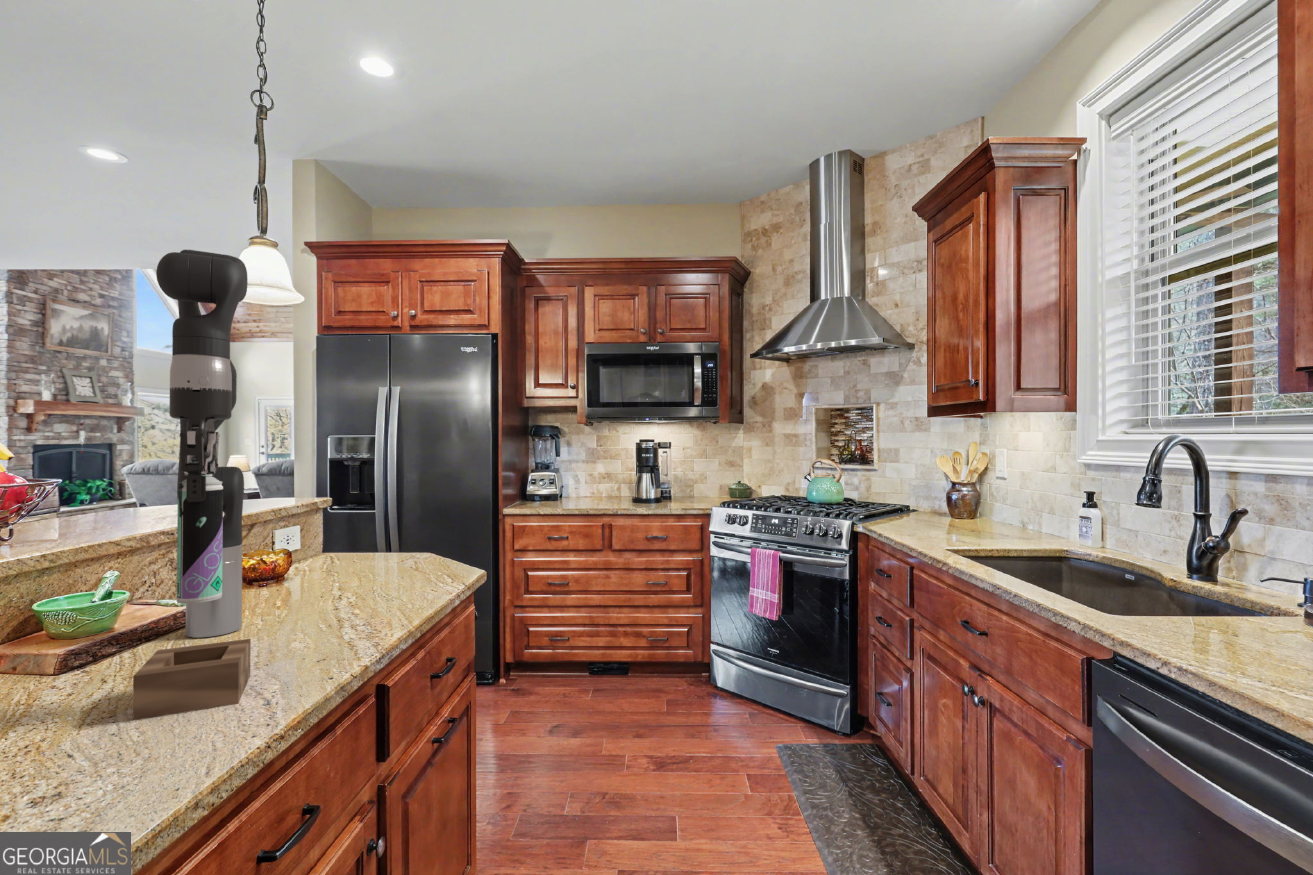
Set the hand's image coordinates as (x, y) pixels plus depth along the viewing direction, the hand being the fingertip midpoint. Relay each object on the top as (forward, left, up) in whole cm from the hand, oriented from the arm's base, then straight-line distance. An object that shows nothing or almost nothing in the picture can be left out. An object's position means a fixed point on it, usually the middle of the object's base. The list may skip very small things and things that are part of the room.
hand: (200, 499), depth 92 cm
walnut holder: (0, 0, -29) cm, 29 cm away
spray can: (0, 0, -15) cm, 15 cm away
